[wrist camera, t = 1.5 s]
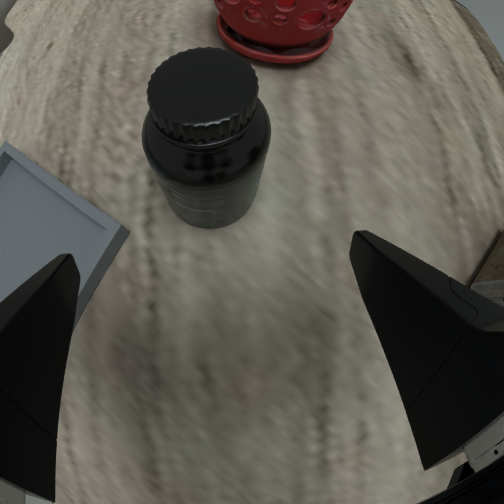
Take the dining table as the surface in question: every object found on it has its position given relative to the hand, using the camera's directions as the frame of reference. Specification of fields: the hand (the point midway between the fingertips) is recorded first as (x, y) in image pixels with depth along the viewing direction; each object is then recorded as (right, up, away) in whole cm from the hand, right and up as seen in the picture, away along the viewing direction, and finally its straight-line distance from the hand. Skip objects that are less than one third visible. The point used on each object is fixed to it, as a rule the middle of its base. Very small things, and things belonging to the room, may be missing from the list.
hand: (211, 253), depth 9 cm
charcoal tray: (-18, -1, +11) cm, 22 cm away
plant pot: (+3, +23, +17) cm, 29 cm away
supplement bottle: (-2, +5, +14) cm, 15 cm away
